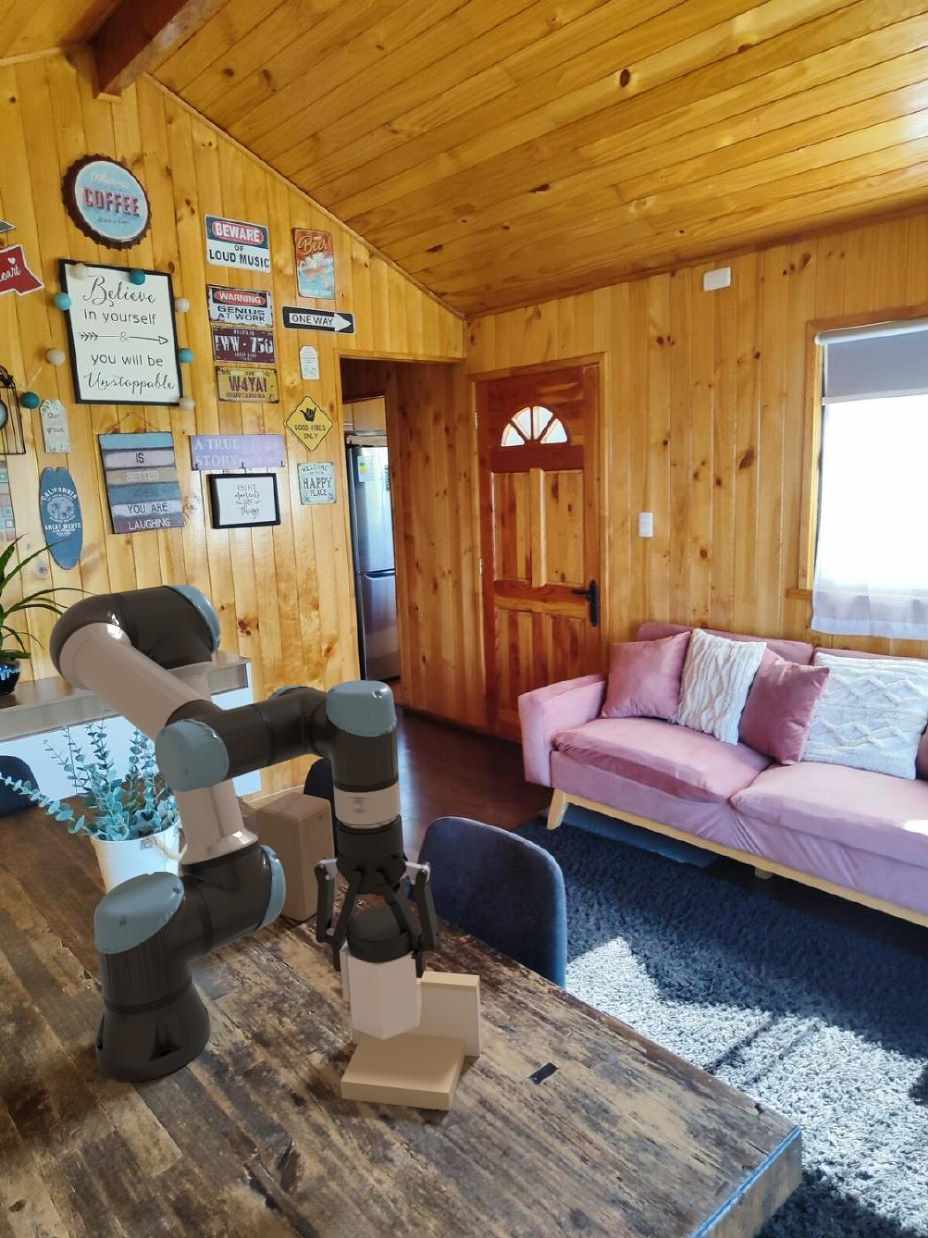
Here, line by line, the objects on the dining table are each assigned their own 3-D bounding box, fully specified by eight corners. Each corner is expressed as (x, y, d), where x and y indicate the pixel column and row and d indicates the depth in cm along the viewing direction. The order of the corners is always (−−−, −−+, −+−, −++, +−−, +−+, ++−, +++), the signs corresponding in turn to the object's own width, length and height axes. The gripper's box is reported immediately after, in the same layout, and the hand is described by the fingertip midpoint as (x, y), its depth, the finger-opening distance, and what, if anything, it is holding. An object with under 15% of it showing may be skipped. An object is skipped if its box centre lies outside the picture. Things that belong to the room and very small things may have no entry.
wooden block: (339, 899, 154) (332, 798, 151) (302, 925, 146) (293, 818, 142) (300, 887, 159) (292, 789, 156) (262, 911, 151) (253, 808, 148)
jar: (359, 994, 103) (352, 905, 101) (424, 992, 103) (418, 902, 101) (347, 1042, 94) (339, 945, 92) (418, 1040, 94) (412, 943, 92)
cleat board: (327, 1097, 105) (321, 1020, 103) (357, 1034, 116) (352, 965, 114) (465, 1113, 101) (461, 1034, 99) (482, 1047, 113) (479, 975, 111)
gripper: (273, 826, 93) (290, 1010, 97) (446, 833, 89) (457, 1025, 92) (299, 800, 100) (314, 972, 104) (461, 806, 96) (470, 985, 100)
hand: (381, 997), depth 98 cm, fingers closed on jar, 7 cm apart
